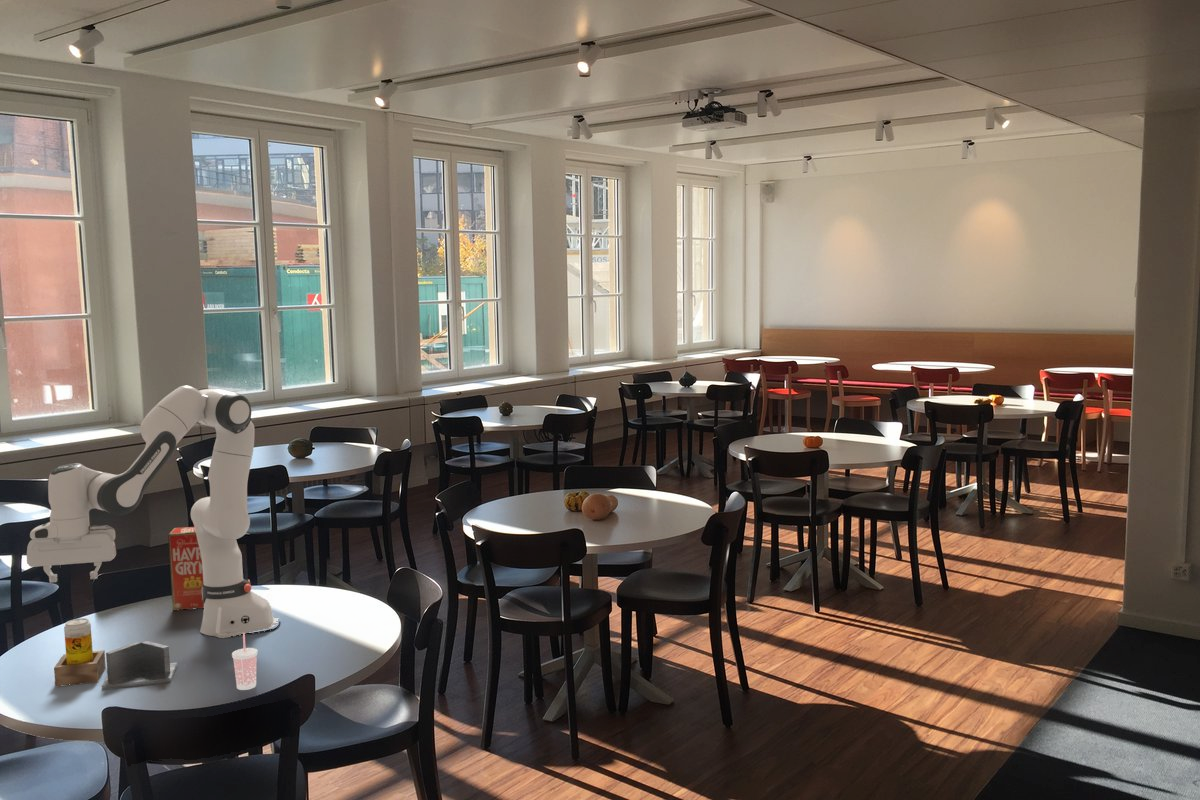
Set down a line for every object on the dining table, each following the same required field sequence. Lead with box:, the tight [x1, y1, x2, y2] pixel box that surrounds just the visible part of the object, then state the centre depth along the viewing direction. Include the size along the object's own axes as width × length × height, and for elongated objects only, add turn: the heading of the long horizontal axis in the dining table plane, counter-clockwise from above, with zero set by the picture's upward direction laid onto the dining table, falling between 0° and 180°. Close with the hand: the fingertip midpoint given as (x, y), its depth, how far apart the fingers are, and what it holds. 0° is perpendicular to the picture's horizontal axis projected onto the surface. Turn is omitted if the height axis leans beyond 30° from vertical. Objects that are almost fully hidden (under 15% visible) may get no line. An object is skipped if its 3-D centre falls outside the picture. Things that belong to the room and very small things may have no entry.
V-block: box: [101, 640, 178, 690], centre depth 253 cm, size 16×12×8 cm
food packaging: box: [167, 526, 204, 611], centre depth 313 cm, size 13×9×25 cm
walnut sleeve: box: [53, 649, 107, 687], centre depth 254 cm, size 10×10×5 cm
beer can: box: [63, 617, 93, 665], centre depth 254 cm, size 6×6×15 cm
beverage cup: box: [231, 633, 259, 691], centre depth 246 cm, size 6×6×14 cm
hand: (73, 580), depth 252 cm, fingers open, 8 cm apart
